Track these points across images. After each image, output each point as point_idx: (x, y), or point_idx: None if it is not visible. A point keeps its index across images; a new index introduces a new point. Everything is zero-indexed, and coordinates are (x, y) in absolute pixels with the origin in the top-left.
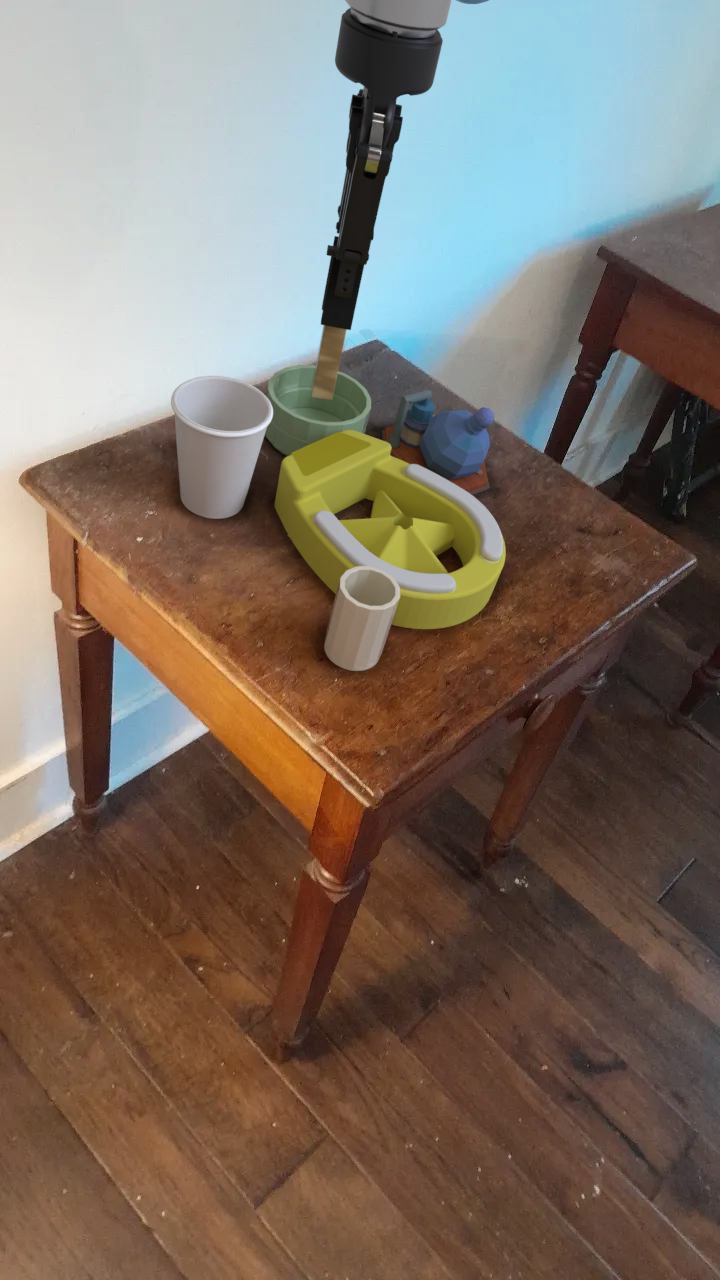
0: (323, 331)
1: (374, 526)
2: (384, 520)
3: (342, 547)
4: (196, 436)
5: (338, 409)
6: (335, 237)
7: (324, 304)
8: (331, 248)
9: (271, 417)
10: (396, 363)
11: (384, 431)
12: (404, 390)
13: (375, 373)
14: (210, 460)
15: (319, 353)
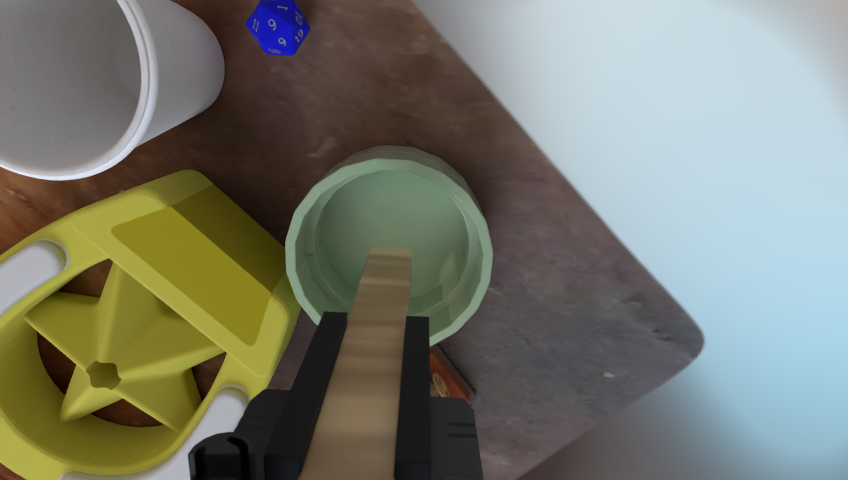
0: (351, 309)
1: (101, 329)
2: (100, 347)
3: None
4: None
5: (449, 282)
6: (417, 465)
7: (311, 341)
8: (219, 466)
9: (33, 176)
10: (655, 379)
11: (433, 348)
12: (570, 385)
13: (616, 343)
14: None
15: (359, 284)
